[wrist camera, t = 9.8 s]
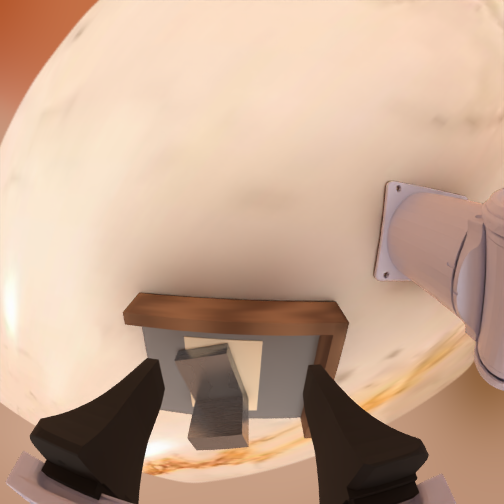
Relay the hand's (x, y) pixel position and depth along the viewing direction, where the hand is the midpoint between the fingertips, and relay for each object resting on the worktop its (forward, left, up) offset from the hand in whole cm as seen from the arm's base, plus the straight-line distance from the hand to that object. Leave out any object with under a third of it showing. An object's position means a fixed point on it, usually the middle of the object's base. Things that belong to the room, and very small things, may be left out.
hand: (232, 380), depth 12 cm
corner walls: (0, +7, -9) cm, 12 cm away
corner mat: (0, +7, -9) cm, 12 cm away
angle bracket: (+2, +8, -9) cm, 12 cm away
